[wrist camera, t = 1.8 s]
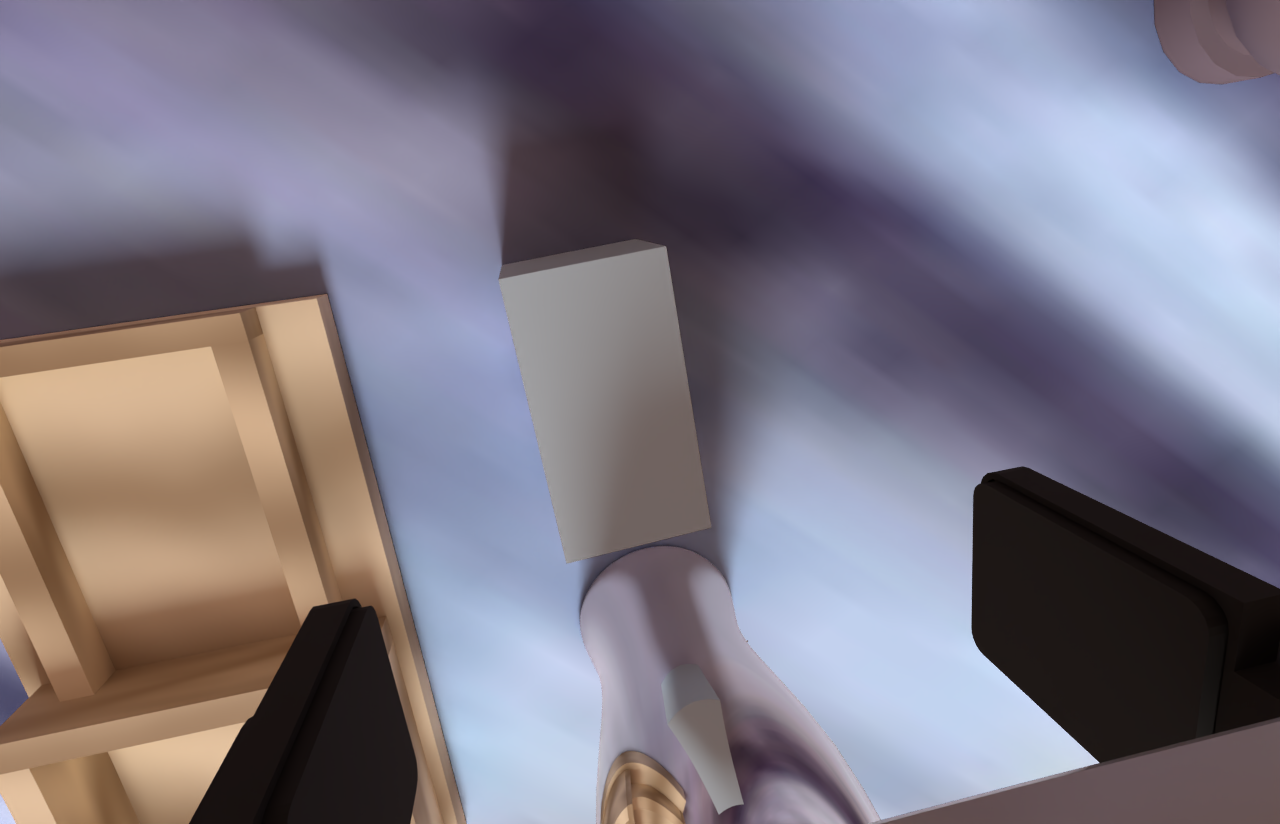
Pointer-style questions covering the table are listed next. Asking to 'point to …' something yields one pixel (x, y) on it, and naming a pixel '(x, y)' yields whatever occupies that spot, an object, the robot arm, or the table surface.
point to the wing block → (608, 395)
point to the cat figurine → (1220, 38)
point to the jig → (182, 553)
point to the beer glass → (700, 708)
